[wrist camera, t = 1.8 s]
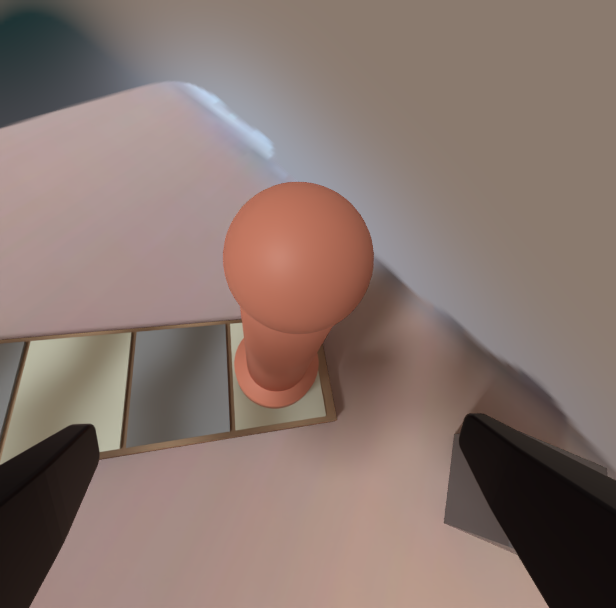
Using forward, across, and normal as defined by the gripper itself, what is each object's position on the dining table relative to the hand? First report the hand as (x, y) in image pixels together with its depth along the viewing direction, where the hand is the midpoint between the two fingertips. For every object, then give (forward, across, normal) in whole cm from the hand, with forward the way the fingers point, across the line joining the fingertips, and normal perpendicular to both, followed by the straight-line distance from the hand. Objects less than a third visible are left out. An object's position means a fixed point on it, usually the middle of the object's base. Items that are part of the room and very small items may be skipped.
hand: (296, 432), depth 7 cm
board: (+10, +8, +6) cm, 14 cm away
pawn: (+10, 0, +4) cm, 11 cm away
